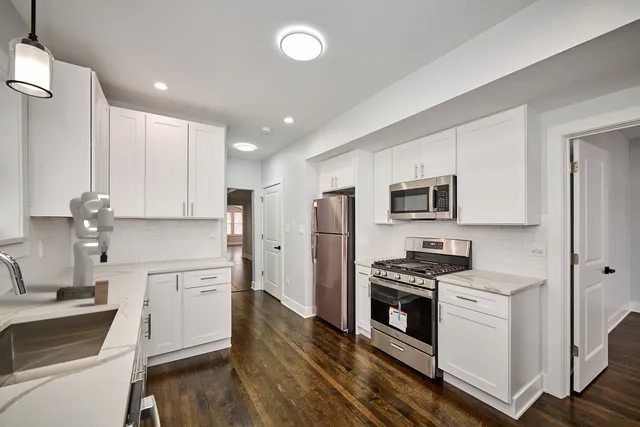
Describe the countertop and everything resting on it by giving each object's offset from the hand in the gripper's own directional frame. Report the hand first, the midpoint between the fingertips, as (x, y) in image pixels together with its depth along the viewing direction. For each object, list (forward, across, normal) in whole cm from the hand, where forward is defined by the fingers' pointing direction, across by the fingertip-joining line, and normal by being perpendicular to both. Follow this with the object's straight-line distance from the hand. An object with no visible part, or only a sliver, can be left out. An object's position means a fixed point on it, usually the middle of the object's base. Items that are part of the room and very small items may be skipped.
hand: (103, 262), depth 157 cm
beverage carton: (+21, -13, -10) cm, 27 cm away
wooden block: (+21, +9, 0) cm, 23 cm away
